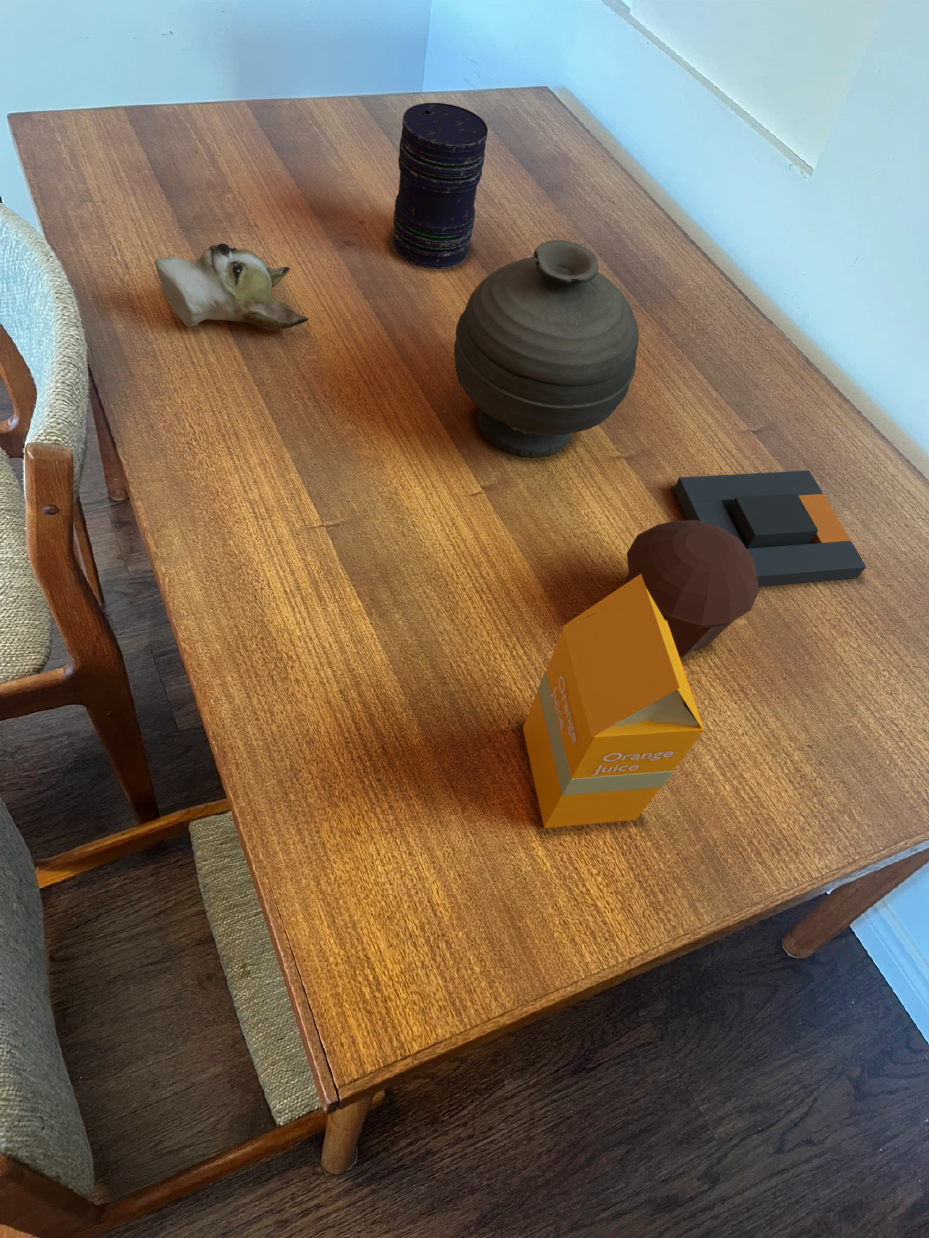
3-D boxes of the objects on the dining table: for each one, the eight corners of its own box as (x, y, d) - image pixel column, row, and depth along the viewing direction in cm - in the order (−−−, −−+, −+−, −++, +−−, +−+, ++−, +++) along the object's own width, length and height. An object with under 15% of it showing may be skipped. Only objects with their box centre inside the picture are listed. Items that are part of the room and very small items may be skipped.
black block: (784, 513, 91) (797, 493, 89) (804, 550, 88) (818, 530, 86) (723, 517, 89) (735, 497, 87) (742, 555, 87) (755, 535, 84)
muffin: (625, 673, 76) (663, 604, 68) (590, 573, 82) (621, 500, 74) (747, 661, 79) (797, 594, 71) (705, 565, 85) (746, 494, 77)
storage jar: (485, 253, 111) (506, 132, 99) (431, 278, 106) (446, 154, 94) (430, 216, 114) (444, 94, 103) (374, 239, 109) (383, 114, 98)
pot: (502, 508, 85) (541, 319, 70) (412, 404, 94) (429, 219, 79) (644, 462, 92) (706, 283, 77) (547, 370, 101) (586, 195, 86)
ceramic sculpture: (146, 215, 90) (290, 217, 95) (152, 289, 97) (287, 287, 102) (161, 277, 85) (313, 275, 90) (167, 351, 92) (308, 345, 97)
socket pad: (801, 482, 94) (809, 470, 93) (857, 578, 87) (866, 566, 86) (673, 489, 91) (679, 477, 89) (720, 590, 83) (727, 578, 82)
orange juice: (610, 720, 73) (696, 570, 57) (638, 820, 68) (740, 686, 52) (520, 726, 71) (582, 574, 55) (541, 829, 66) (616, 693, 50)
